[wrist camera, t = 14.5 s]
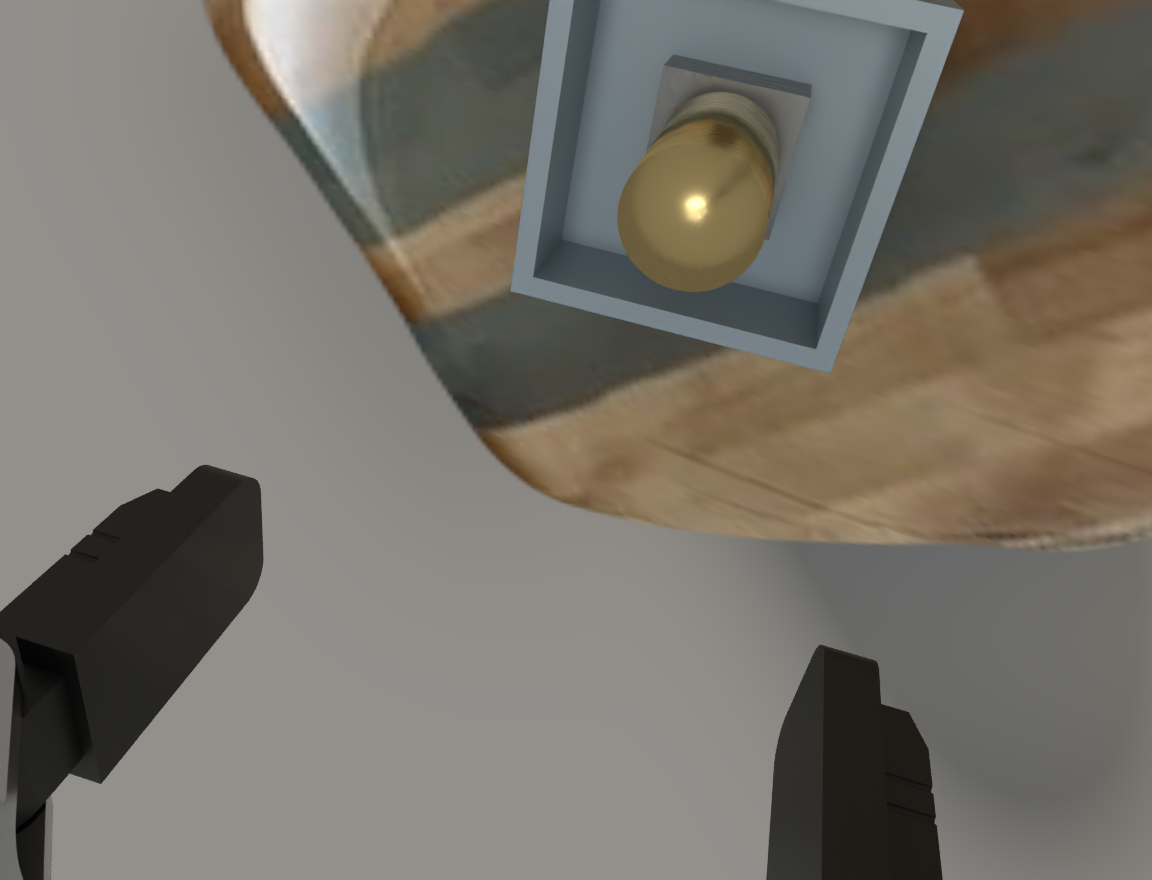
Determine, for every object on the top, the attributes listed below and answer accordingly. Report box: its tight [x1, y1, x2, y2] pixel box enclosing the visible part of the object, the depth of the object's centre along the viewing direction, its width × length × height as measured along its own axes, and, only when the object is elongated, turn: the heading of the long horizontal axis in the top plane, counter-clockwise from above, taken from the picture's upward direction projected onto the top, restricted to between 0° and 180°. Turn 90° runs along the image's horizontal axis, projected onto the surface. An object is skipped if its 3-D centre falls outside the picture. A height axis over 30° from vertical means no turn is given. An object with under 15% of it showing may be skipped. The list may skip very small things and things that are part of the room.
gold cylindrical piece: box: [617, 54, 812, 292], centre depth 31 cm, size 5×5×10 cm
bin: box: [511, 0, 964, 373], centre depth 33 cm, size 13×13×5 cm
